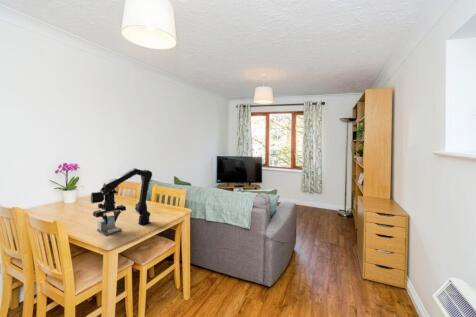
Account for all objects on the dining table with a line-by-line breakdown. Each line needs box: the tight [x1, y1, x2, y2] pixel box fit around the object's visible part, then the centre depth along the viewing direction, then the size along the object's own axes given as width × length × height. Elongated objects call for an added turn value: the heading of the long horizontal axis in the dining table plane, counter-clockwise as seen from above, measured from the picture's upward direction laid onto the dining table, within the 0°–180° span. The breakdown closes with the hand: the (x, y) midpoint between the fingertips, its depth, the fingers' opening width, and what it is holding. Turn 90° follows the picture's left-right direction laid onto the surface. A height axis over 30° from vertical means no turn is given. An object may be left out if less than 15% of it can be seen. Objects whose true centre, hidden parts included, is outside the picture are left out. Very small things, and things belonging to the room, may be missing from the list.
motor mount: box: [96, 218, 123, 237], centre depth 154 cm, size 10×13×7 cm
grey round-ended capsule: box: [106, 215, 116, 227], centre depth 153 cm, size 5×5×6 cm
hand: (110, 223), depth 153 cm, fingers closed on grey round-ended capsule, 5 cm apart
